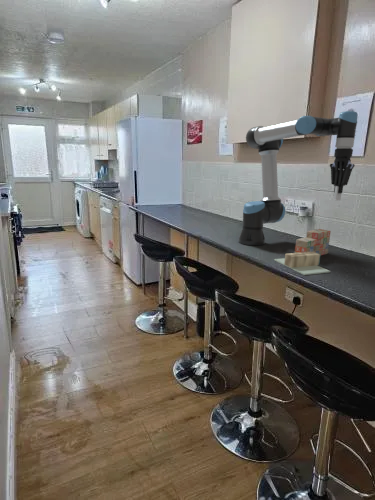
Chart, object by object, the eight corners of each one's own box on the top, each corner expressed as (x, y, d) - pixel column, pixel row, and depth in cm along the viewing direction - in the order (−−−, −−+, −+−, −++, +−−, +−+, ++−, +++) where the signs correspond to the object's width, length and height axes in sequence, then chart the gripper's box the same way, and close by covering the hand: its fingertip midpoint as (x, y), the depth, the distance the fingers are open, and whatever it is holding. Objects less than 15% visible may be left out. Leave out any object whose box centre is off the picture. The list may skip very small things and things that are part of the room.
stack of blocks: (305, 260, 157) (308, 235, 154) (293, 257, 162) (296, 233, 159) (327, 253, 170) (330, 230, 167) (316, 251, 175) (319, 228, 172)
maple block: (311, 261, 153) (284, 264, 148) (313, 251, 151) (285, 253, 147) (319, 264, 148) (291, 267, 144) (320, 254, 147) (292, 256, 142)
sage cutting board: (274, 260, 156) (274, 259, 156) (297, 258, 160) (297, 257, 160) (304, 275, 136) (304, 273, 136) (330, 272, 140) (330, 271, 140)
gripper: (362, 148, 145) (353, 201, 151) (339, 148, 156) (333, 198, 163) (348, 147, 142) (340, 201, 148) (327, 148, 154) (320, 198, 160)
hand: (336, 200), depth 155 cm, fingers closed
